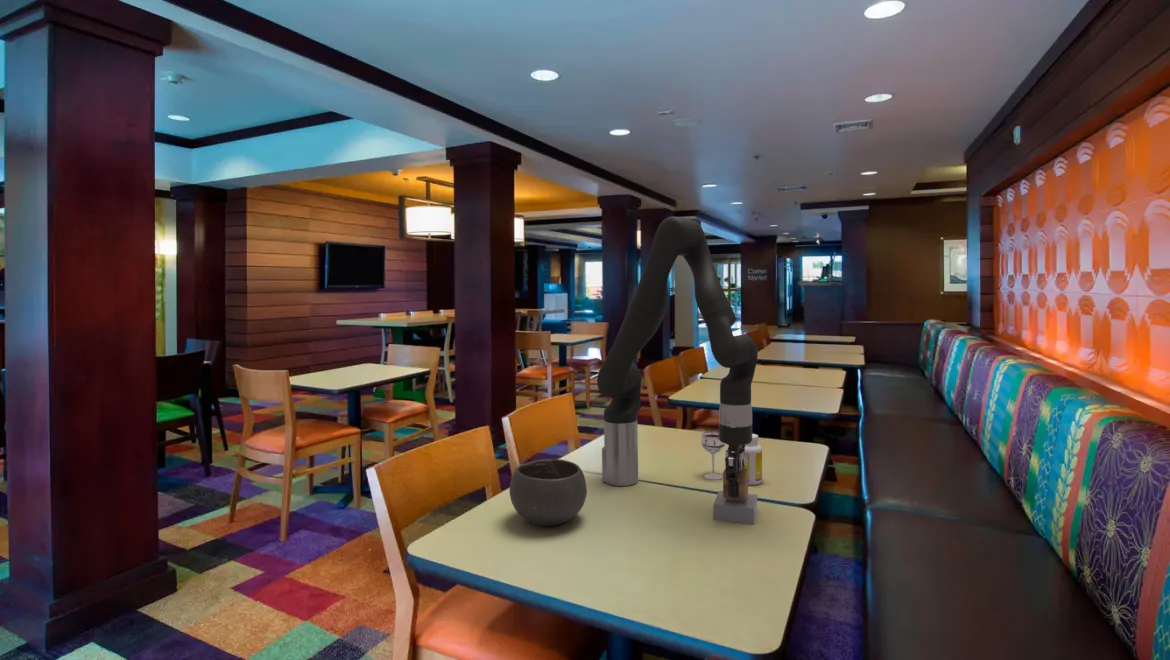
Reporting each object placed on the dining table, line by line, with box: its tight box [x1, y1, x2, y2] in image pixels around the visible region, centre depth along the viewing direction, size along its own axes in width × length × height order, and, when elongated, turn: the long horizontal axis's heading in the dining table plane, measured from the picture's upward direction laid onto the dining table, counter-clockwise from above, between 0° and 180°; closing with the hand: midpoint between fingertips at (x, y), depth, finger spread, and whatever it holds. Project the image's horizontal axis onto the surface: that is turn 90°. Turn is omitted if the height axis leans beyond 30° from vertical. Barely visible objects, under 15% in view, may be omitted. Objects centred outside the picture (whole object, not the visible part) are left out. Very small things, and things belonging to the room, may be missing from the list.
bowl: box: [509, 458, 588, 527], centre depth 139 cm, size 18×18×13 cm
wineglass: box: [700, 430, 726, 480], centre depth 167 cm, size 7×7×12 cm
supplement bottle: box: [744, 433, 763, 486], centre depth 162 cm, size 7×7×13 cm
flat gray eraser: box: [712, 490, 758, 525], centre depth 140 cm, size 9×9×4 cm
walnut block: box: [722, 467, 749, 500], centre depth 140 cm, size 5×5×6 cm
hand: (735, 492), depth 140 cm, fingers closed on walnut block, 5 cm apart
